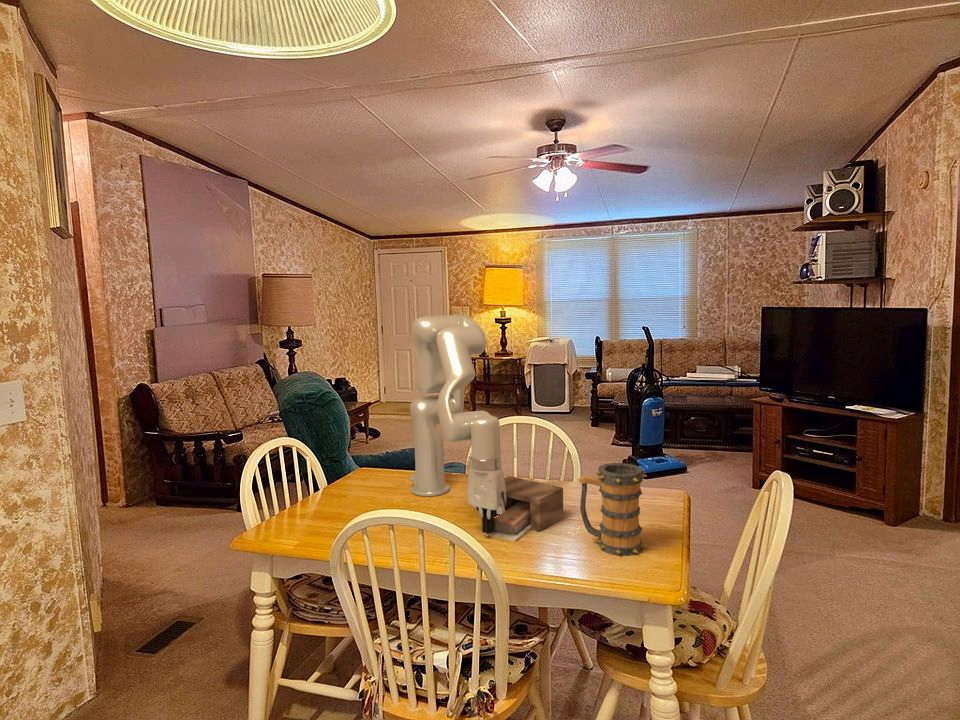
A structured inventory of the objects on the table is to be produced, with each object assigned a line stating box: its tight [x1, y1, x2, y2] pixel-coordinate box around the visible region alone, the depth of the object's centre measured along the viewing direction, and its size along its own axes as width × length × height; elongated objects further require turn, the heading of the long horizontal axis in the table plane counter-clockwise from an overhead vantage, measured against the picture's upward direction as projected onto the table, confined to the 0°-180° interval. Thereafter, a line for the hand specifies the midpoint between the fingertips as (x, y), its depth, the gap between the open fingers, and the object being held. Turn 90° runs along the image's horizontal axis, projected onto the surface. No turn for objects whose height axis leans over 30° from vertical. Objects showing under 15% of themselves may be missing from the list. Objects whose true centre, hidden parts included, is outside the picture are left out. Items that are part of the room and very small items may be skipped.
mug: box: [576, 462, 648, 557], centre depth 146 cm, size 13×17×20 cm
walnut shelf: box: [495, 475, 564, 532], centre depth 167 cm, size 19×12×9 cm, turn 51°
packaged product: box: [482, 502, 531, 542], centre depth 161 cm, size 18×5×10 cm
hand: (488, 531), depth 155 cm, fingers closed
